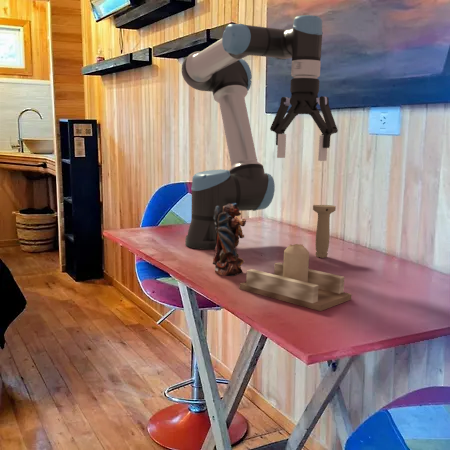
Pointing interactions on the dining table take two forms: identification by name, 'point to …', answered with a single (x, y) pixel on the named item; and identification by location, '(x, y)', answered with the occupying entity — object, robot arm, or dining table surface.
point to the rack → (298, 288)
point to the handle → (323, 229)
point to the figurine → (228, 240)
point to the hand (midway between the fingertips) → (301, 159)
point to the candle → (296, 262)
